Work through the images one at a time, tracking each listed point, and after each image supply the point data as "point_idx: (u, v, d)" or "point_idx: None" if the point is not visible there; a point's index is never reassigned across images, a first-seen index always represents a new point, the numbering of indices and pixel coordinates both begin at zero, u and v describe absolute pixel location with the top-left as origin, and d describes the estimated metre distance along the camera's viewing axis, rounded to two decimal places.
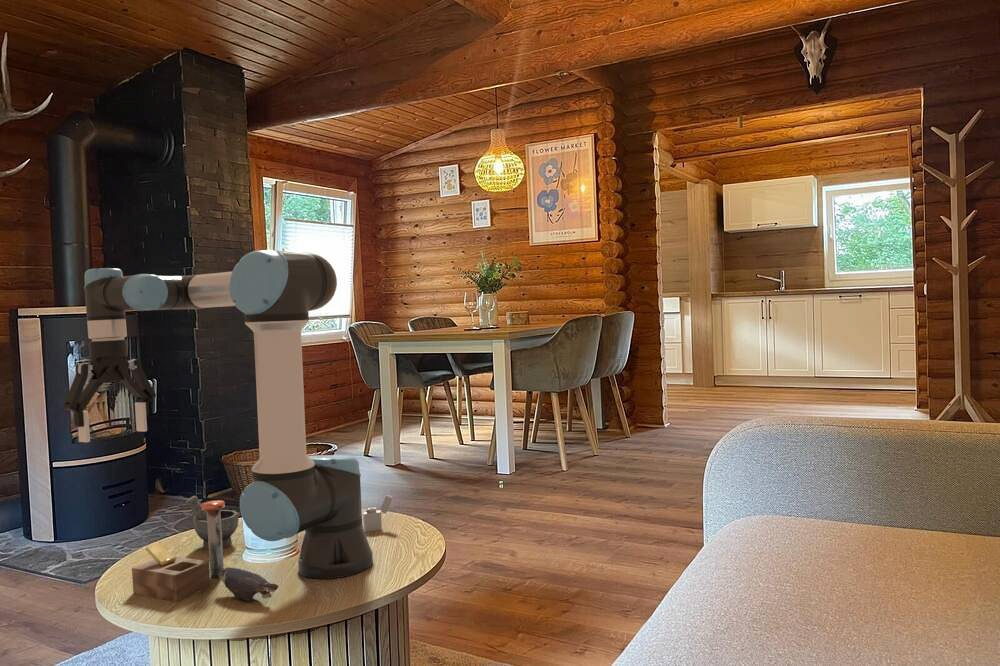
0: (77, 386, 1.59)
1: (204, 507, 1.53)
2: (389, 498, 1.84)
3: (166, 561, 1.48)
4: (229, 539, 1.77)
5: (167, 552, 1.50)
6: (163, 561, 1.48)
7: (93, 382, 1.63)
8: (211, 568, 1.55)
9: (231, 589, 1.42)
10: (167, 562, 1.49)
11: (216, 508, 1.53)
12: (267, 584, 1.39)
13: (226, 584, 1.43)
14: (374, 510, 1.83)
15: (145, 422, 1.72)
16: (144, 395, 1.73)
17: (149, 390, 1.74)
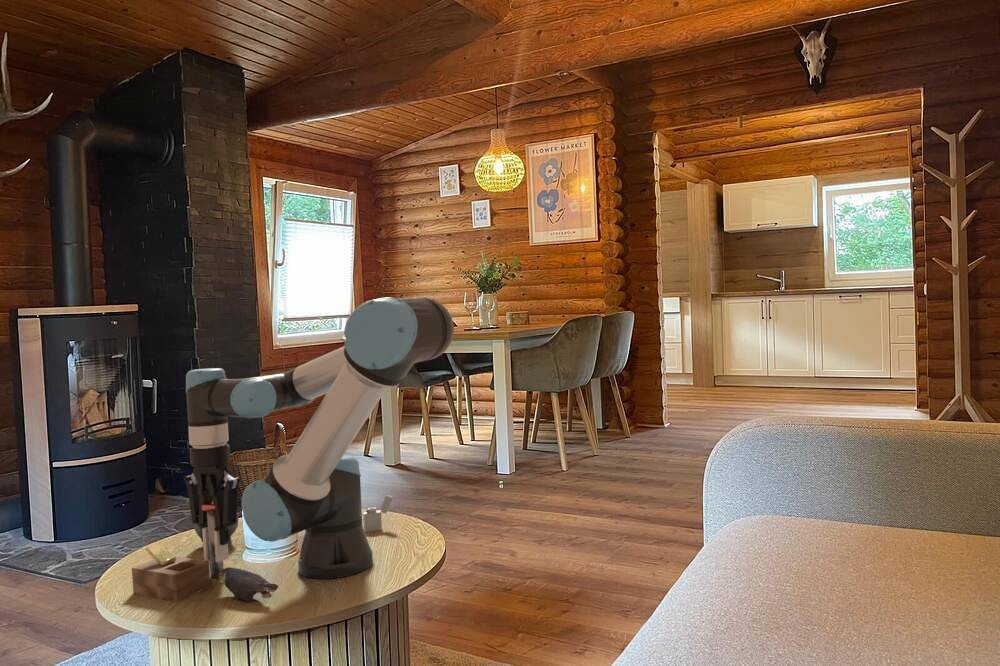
0: None
1: (204, 507, 1.53)
2: (389, 498, 1.84)
3: (166, 561, 1.48)
4: (229, 539, 1.77)
5: (167, 552, 1.50)
6: (163, 561, 1.48)
7: None
8: (211, 568, 1.55)
9: (231, 589, 1.42)
10: (167, 562, 1.49)
11: None
12: (267, 584, 1.39)
13: (226, 584, 1.43)
14: (374, 510, 1.83)
15: (216, 552, 1.54)
16: (218, 521, 1.53)
17: (224, 516, 1.52)
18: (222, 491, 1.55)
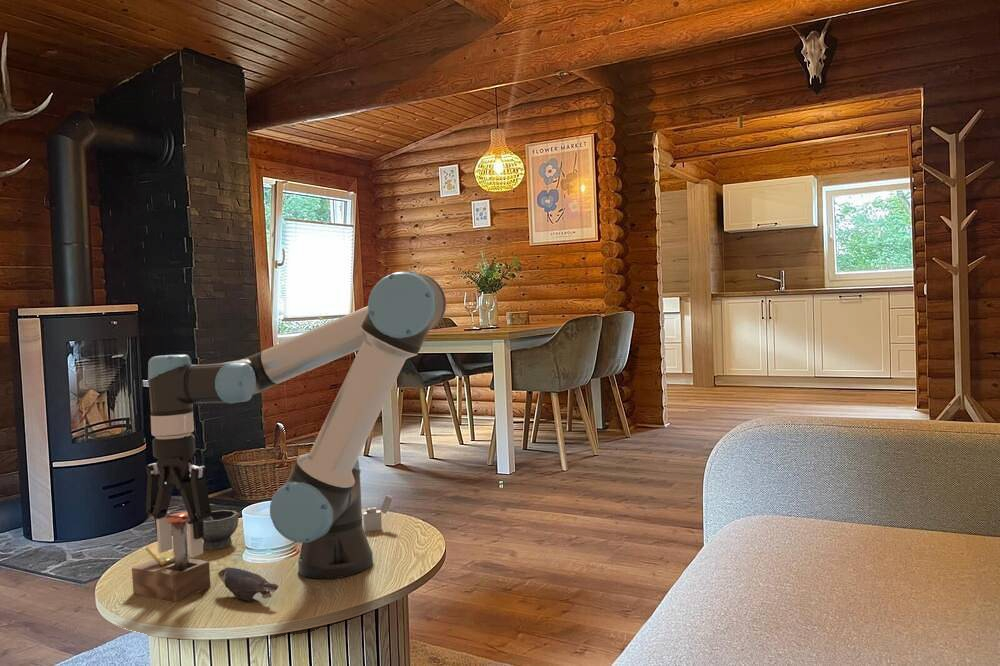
0: None
1: (169, 519, 1.45)
2: (389, 498, 1.84)
3: (166, 561, 1.48)
4: (229, 539, 1.77)
5: (167, 552, 1.50)
6: (163, 561, 1.48)
7: None
8: None
9: (231, 589, 1.42)
10: (167, 562, 1.49)
11: (182, 521, 1.45)
12: (267, 584, 1.39)
13: (226, 584, 1.43)
14: (374, 510, 1.83)
15: (190, 547, 1.44)
16: (191, 514, 1.44)
17: (196, 509, 1.43)
18: (189, 483, 1.46)
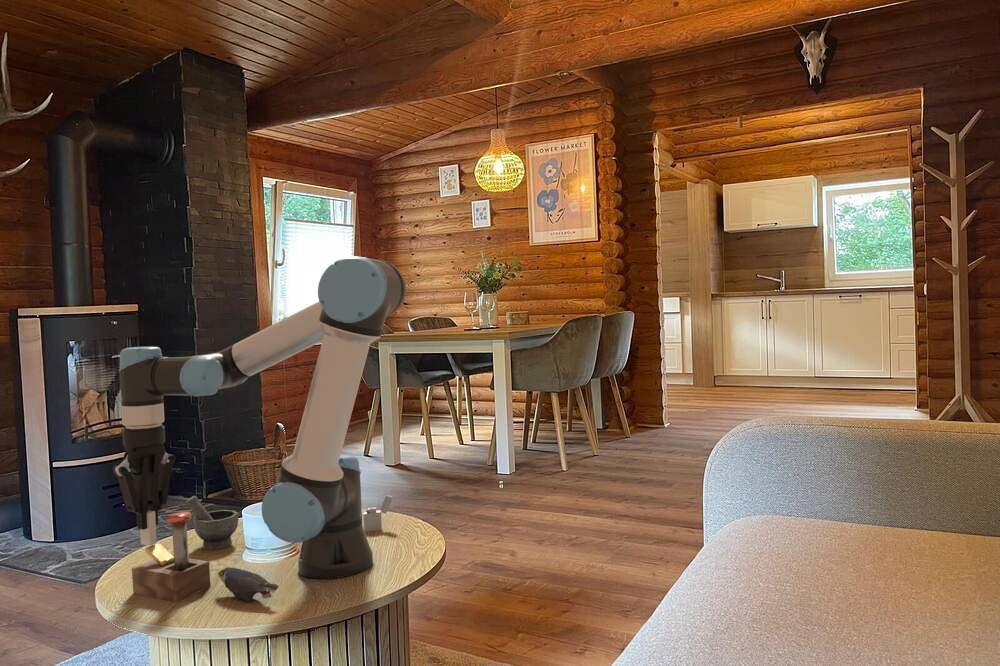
0: (128, 490, 1.46)
1: (169, 519, 1.45)
2: (389, 498, 1.84)
3: (166, 561, 1.48)
4: (229, 539, 1.77)
5: (167, 552, 1.51)
6: (163, 561, 1.48)
7: (138, 479, 1.49)
8: None
9: (231, 589, 1.42)
10: (167, 562, 1.49)
11: (182, 520, 1.45)
12: (267, 584, 1.39)
13: (226, 584, 1.43)
14: (374, 510, 1.83)
15: (154, 533, 1.51)
16: (157, 501, 1.51)
17: (164, 493, 1.53)
18: None
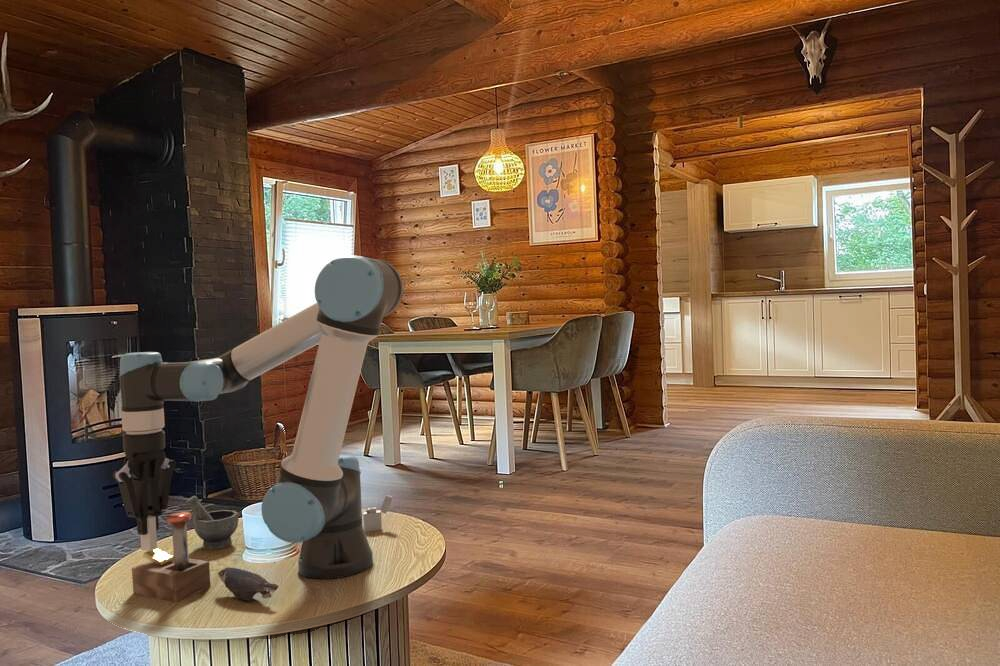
0: (128, 496, 1.46)
1: (169, 520, 1.45)
2: (389, 498, 1.84)
3: (165, 560, 1.49)
4: (229, 539, 1.77)
5: (165, 554, 1.51)
6: (162, 560, 1.48)
7: (138, 484, 1.49)
8: None
9: (231, 589, 1.42)
10: (166, 561, 1.49)
11: (181, 521, 1.45)
12: (267, 584, 1.39)
13: (226, 584, 1.43)
14: (374, 510, 1.83)
15: (155, 539, 1.51)
16: (157, 506, 1.51)
17: (164, 498, 1.53)
18: None
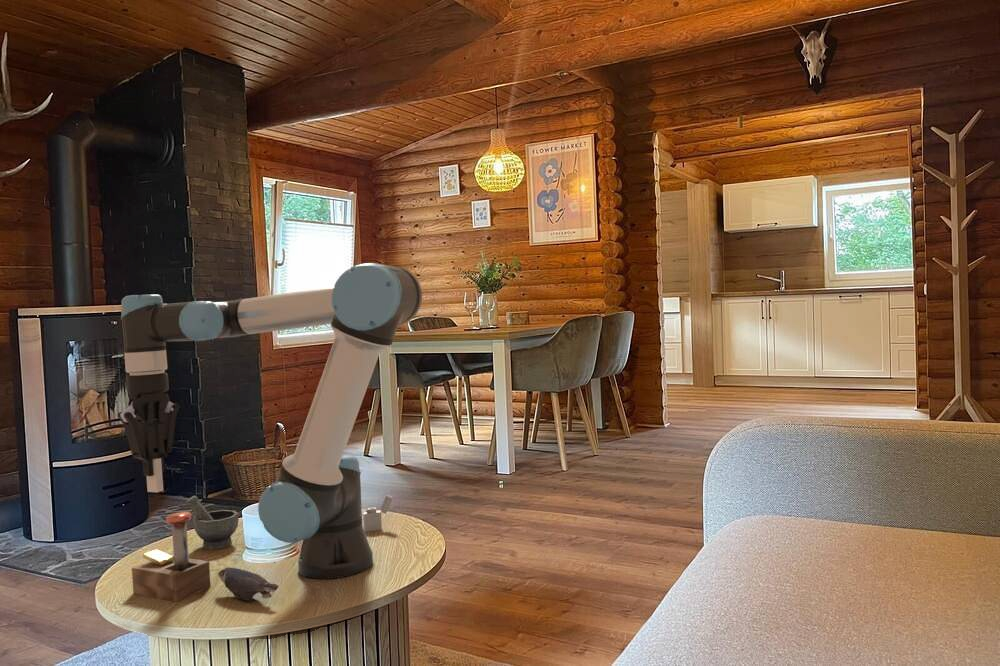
0: (134, 436, 1.47)
1: (169, 519, 1.45)
2: (389, 498, 1.84)
3: (165, 560, 1.49)
4: (229, 539, 1.77)
5: (165, 554, 1.51)
6: (162, 560, 1.48)
7: (143, 425, 1.49)
8: None
9: (231, 589, 1.42)
10: (166, 561, 1.49)
11: (181, 520, 1.45)
12: (267, 584, 1.39)
13: (226, 584, 1.43)
14: (374, 510, 1.83)
15: (161, 481, 1.51)
16: (162, 448, 1.52)
17: (169, 441, 1.54)
18: None
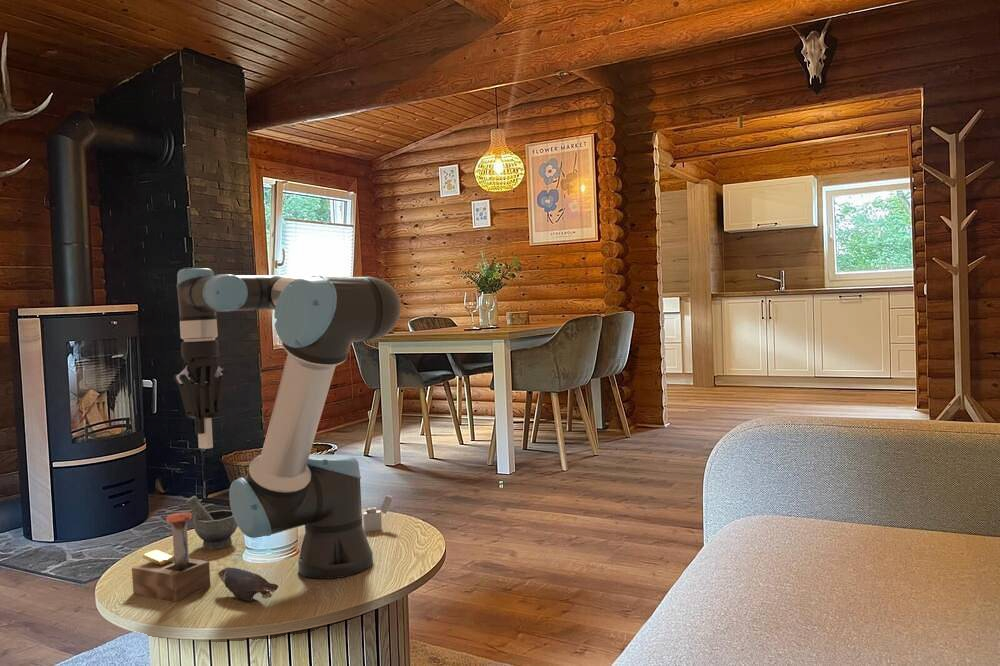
0: (188, 396, 1.61)
1: (169, 519, 1.45)
2: (389, 498, 1.84)
3: (165, 560, 1.49)
4: (229, 539, 1.77)
5: (165, 554, 1.51)
6: (162, 560, 1.48)
7: (196, 387, 1.64)
8: None
9: (231, 589, 1.42)
10: (166, 561, 1.49)
11: (182, 520, 1.45)
12: (267, 584, 1.39)
13: (226, 584, 1.43)
14: (374, 510, 1.83)
15: (211, 438, 1.66)
16: (212, 409, 1.67)
17: (218, 403, 1.68)
18: None
